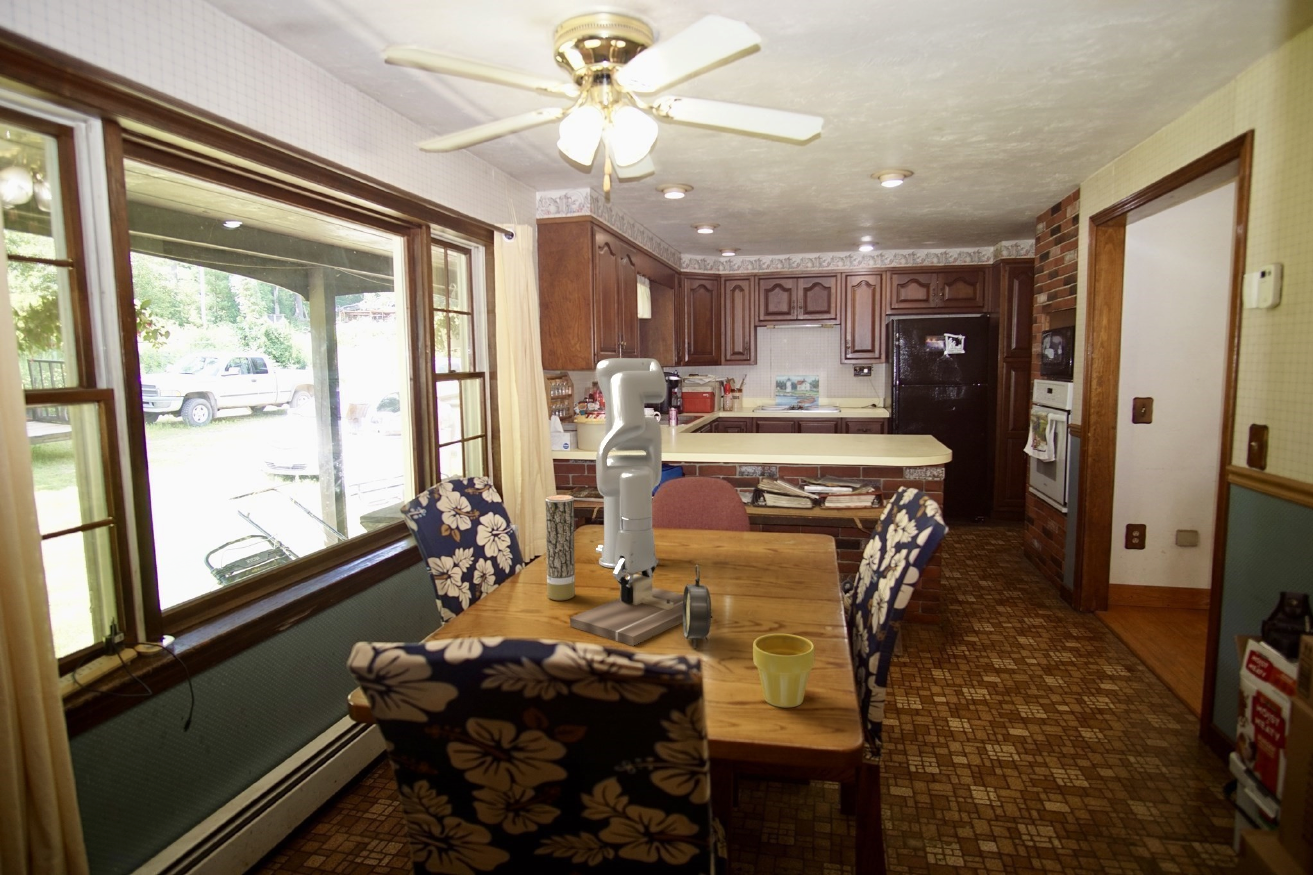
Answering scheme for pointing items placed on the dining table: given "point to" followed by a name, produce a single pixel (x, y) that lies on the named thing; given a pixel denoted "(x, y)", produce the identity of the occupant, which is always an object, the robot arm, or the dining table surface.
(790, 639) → the plant pot
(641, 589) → the cream square mallet
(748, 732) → the dining table surface
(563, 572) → the paper tube
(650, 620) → the wooden cutting board
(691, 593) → the alarm clock
